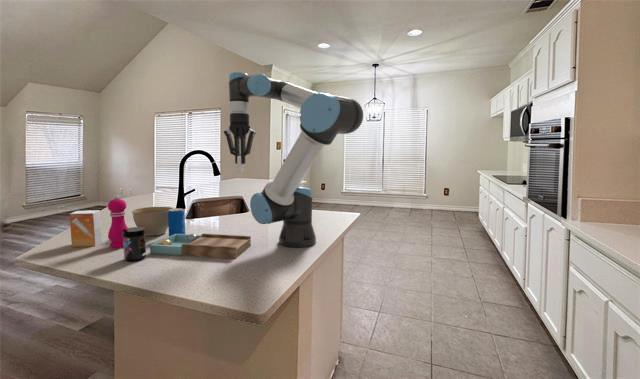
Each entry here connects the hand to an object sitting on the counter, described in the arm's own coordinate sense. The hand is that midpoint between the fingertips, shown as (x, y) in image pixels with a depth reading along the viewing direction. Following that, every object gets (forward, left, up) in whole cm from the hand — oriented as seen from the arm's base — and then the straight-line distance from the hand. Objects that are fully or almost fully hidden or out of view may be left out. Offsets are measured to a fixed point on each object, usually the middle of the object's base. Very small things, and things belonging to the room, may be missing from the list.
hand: (240, 171), depth 134 cm
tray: (+19, +16, -28) cm, 38 cm away
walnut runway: (+3, +16, -28) cm, 33 cm away
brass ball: (+21, +21, -26) cm, 39 cm away
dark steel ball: (+15, +12, -26) cm, 32 cm away
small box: (+56, +18, -29) cm, 65 cm away
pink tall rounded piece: (+42, +18, -29) cm, 54 cm away
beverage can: (+28, +2, -29) cm, 40 cm away
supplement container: (+27, +30, -29) cm, 49 cm away
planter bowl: (+41, -1, -29) cm, 50 cm away
